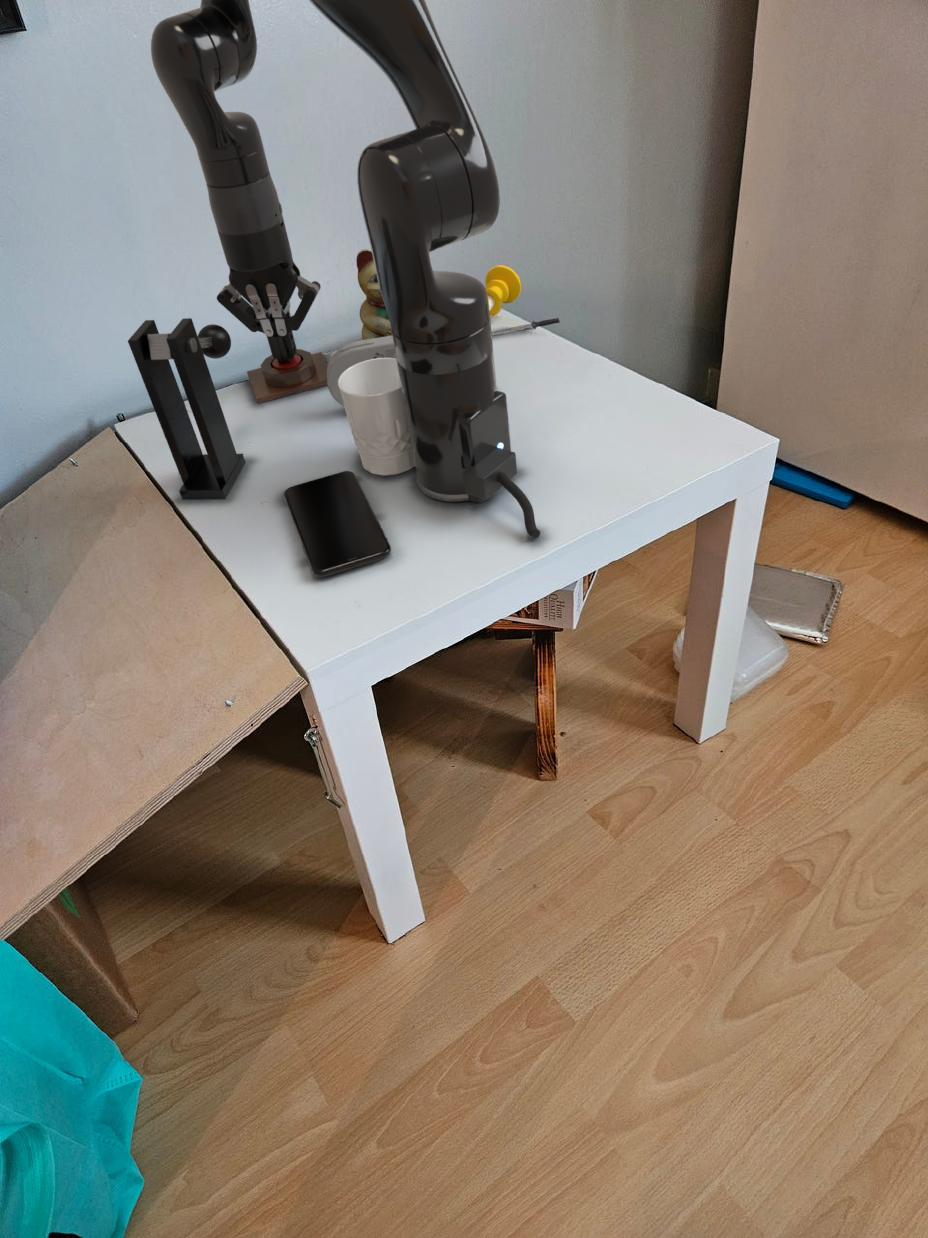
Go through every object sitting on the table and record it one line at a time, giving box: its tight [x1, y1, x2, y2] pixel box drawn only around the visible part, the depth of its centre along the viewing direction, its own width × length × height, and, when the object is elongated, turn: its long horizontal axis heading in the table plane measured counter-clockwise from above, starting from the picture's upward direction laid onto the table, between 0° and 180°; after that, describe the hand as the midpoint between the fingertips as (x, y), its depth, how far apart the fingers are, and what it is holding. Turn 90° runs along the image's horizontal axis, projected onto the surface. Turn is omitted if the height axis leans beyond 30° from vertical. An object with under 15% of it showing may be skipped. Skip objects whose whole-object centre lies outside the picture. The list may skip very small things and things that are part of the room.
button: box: [272, 354, 302, 370], centre depth 115 cm, size 4×4×2 cm
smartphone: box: [283, 470, 392, 578], centre depth 91 cm, size 8×1×16 cm
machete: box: [491, 317, 561, 336], centre depth 119 cm, size 14×2×1 cm, turn 99°
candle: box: [484, 265, 522, 317], centre depth 119 cm, size 5×5×16 cm
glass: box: [338, 358, 416, 477], centre depth 96 cm, size 8×8×10 cm
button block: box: [246, 348, 329, 404], centre depth 115 cm, size 10×8×2 cm
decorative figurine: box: [355, 248, 392, 340], centre depth 112 cm, size 10×8×15 cm
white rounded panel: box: [327, 336, 396, 408], centre depth 106 cm, size 20×2×8 cm, turn 98°
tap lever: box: [147, 323, 232, 360], centre depth 95 cm, size 14×4×4 cm, turn 171°
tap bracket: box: [127, 317, 246, 501], centre depth 94 cm, size 7×6×18 cm
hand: (286, 359), depth 114 cm, fingers closed
